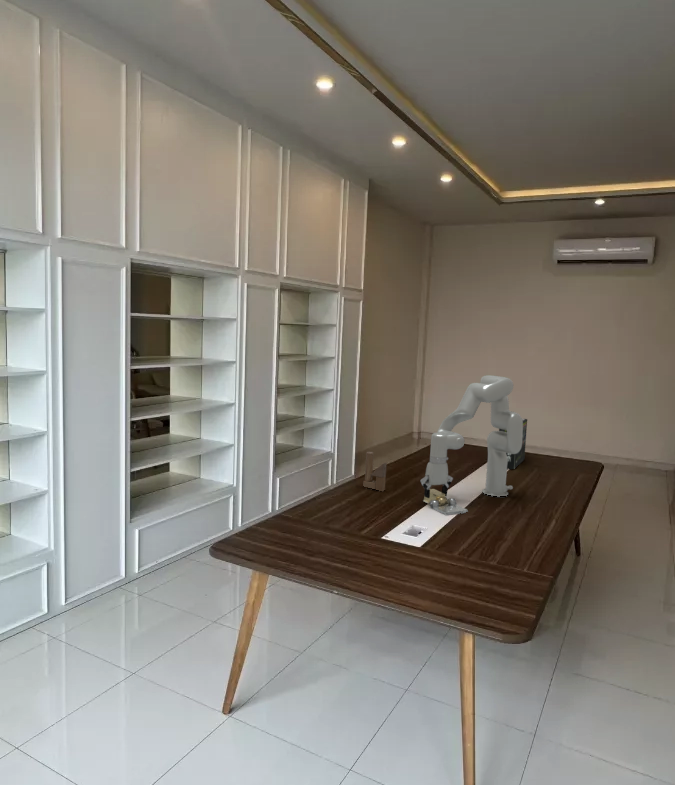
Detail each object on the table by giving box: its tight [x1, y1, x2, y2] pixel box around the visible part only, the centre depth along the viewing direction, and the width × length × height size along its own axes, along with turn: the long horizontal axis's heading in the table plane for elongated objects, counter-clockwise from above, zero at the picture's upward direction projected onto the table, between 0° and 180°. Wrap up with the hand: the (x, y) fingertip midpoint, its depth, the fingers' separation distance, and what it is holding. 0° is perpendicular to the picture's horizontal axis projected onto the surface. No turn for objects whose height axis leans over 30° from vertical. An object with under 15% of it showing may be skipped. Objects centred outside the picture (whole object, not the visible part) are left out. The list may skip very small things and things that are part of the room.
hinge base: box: [428, 497, 469, 516], centre depth 256 cm, size 14×12×4 cm
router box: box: [498, 418, 528, 470], centre depth 355 cm, size 36×11×27 cm, turn 152°
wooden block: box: [362, 451, 388, 492], centre depth 284 cm, size 4×11×18 cm, turn 56°
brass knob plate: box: [423, 488, 448, 507], centre depth 265 cm, size 5×12×5 cm, turn 26°
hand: (435, 496), depth 265 cm, fingers open, 9 cm apart
